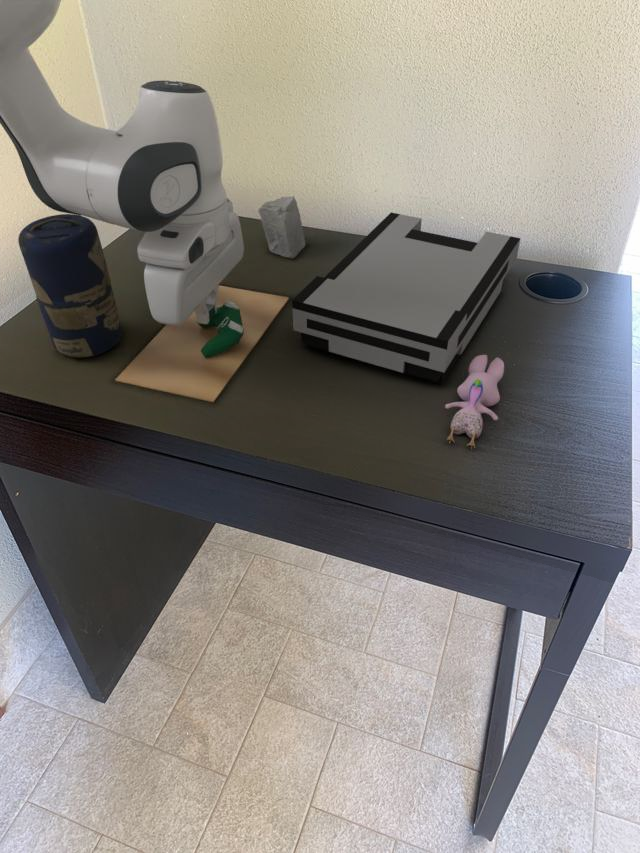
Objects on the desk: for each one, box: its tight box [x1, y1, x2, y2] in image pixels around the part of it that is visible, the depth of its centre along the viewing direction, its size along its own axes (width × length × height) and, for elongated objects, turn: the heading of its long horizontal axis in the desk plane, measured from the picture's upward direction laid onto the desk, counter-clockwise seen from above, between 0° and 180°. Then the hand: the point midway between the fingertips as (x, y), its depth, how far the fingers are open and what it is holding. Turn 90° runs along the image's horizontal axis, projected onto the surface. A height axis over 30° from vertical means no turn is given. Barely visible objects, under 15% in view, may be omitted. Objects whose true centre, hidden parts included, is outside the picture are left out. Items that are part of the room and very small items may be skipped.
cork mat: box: [114, 285, 290, 403], centre depth 95 cm, size 26×14×1 cm, turn 161°
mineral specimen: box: [258, 195, 306, 260], centre depth 112 cm, size 7×9×8 cm
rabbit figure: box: [444, 354, 505, 450], centre depth 81 cm, size 6×6×15 cm
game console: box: [291, 212, 521, 385], centre depth 96 cm, size 21×32×8 cm, turn 152°
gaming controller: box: [198, 300, 244, 358], centre depth 93 cm, size 9×4×6 cm
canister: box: [17, 213, 123, 358], centre depth 88 cm, size 10×10×18 cm
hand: (207, 318), depth 94 cm, fingers closed, pressing on gaming controller
